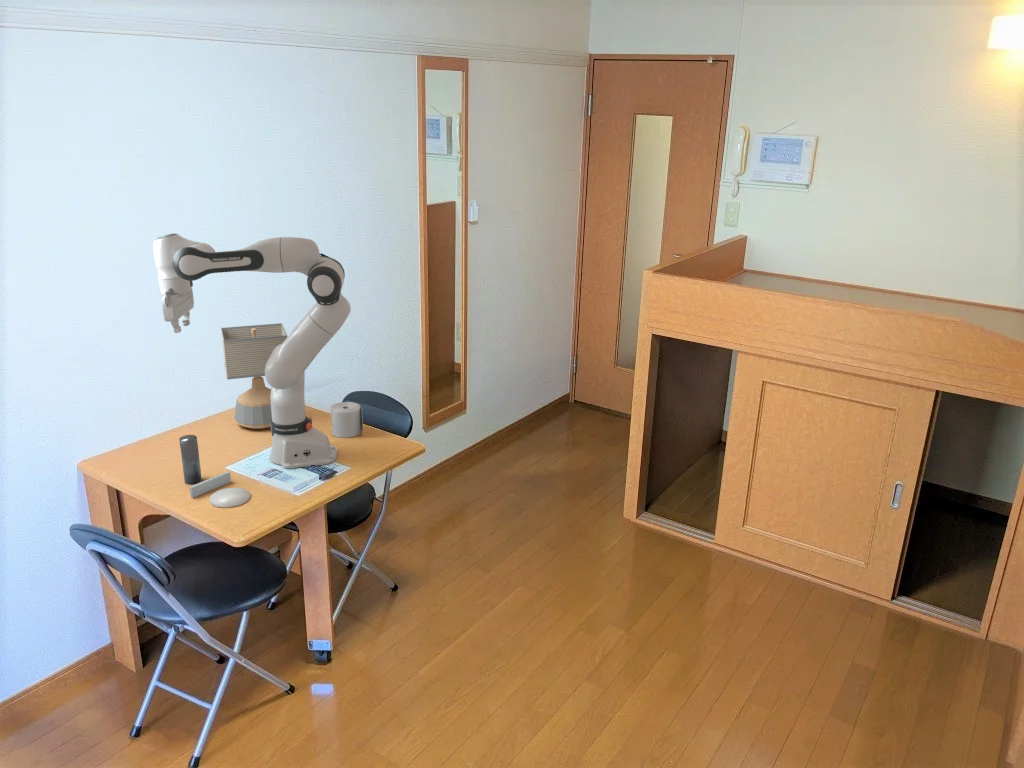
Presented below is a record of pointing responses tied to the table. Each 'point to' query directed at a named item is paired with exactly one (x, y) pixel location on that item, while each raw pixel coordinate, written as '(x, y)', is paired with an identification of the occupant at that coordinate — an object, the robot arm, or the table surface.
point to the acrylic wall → (210, 484)
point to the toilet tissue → (346, 419)
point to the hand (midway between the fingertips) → (182, 328)
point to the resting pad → (229, 497)
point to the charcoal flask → (190, 459)
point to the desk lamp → (251, 369)
